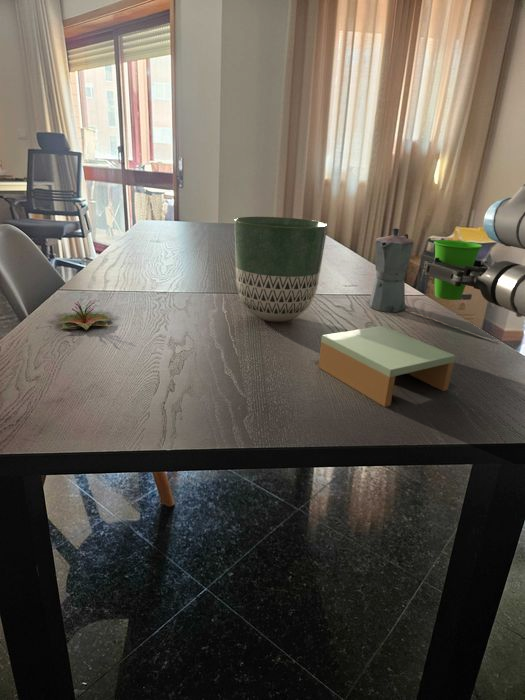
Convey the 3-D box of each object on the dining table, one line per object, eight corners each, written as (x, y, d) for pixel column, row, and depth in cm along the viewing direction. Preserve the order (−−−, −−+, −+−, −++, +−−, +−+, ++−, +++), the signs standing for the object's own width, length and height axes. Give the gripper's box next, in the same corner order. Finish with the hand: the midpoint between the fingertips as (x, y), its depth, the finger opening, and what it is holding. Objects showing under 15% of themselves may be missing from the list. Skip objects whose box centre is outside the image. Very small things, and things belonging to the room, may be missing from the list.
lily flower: (54, 316, 99) (51, 295, 97) (113, 313, 103) (112, 293, 101) (52, 335, 88) (49, 312, 87) (118, 331, 93) (116, 308, 91)
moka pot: (356, 309, 118) (367, 227, 110) (379, 298, 130) (390, 224, 122) (393, 317, 113) (407, 232, 106) (413, 305, 125) (427, 228, 118)
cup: (460, 305, 91) (472, 248, 87) (417, 295, 97) (426, 242, 93) (477, 297, 98) (488, 244, 94) (435, 289, 103) (444, 238, 99)
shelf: (447, 390, 75) (455, 355, 73) (384, 407, 68) (391, 369, 66) (377, 355, 88) (382, 325, 86) (318, 367, 81) (321, 334, 79)
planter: (313, 337, 96) (324, 230, 88) (221, 326, 99) (224, 222, 91) (320, 311, 114) (329, 220, 106) (242, 303, 117) (245, 214, 109)
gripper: (452, 309, 78) (392, 278, 99) (560, 308, 82) (481, 278, 103) (461, 264, 75) (398, 242, 96) (573, 265, 79) (488, 244, 100)
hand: (441, 261), depth 99 cm, fingers closed on cup, 8 cm apart
